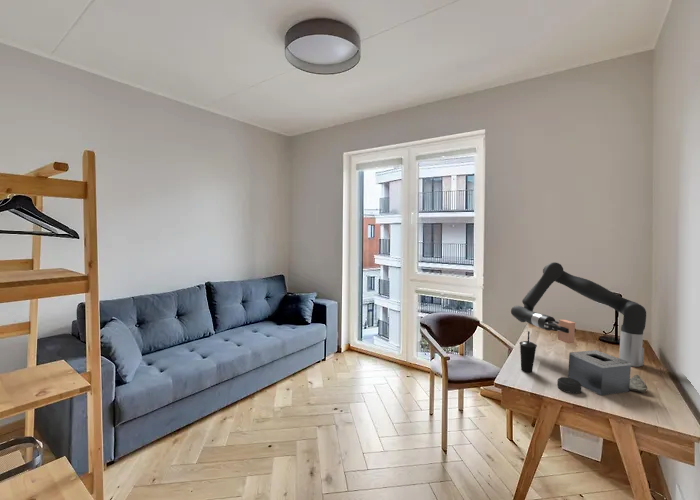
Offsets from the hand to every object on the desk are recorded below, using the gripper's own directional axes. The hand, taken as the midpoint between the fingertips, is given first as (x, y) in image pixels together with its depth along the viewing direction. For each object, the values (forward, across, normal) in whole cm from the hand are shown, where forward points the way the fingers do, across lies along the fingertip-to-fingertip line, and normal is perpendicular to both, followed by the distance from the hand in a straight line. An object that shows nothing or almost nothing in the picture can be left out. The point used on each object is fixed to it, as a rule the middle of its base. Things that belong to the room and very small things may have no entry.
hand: (571, 330), depth 163 cm
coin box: (+12, +3, +22) cm, 25 cm away
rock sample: (+19, +15, +22) cm, 33 cm away
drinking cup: (-8, -18, +22) cm, 29 cm away
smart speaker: (+13, -14, +22) cm, 29 cm away
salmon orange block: (-3, 0, +6) cm, 7 cm away
